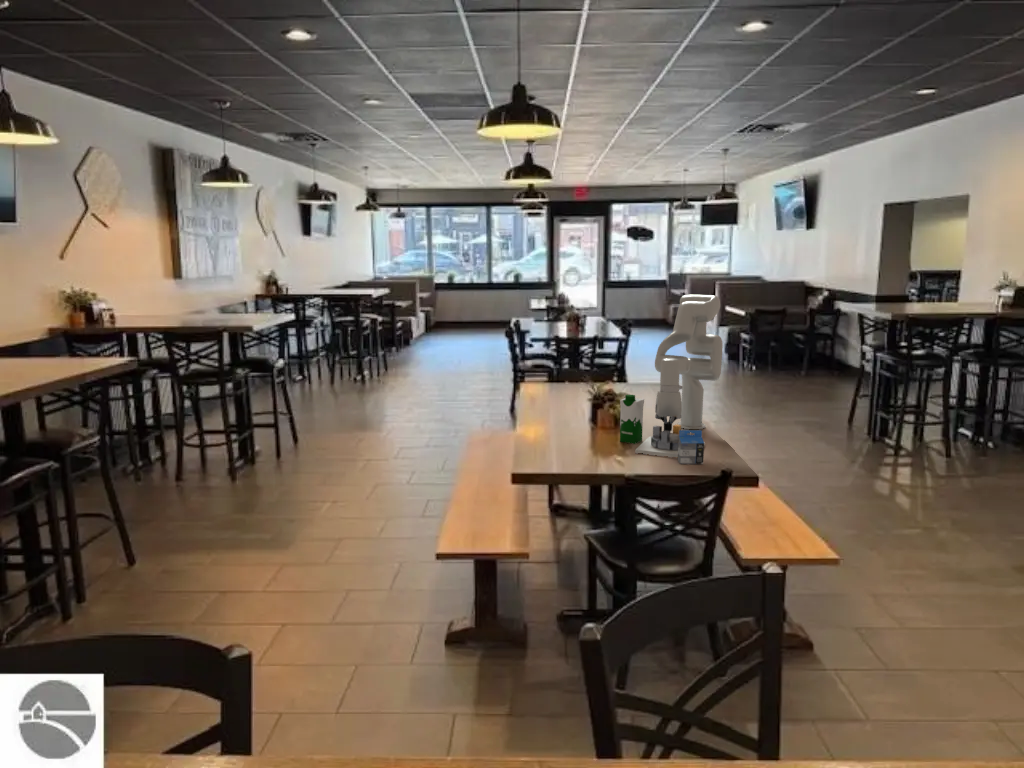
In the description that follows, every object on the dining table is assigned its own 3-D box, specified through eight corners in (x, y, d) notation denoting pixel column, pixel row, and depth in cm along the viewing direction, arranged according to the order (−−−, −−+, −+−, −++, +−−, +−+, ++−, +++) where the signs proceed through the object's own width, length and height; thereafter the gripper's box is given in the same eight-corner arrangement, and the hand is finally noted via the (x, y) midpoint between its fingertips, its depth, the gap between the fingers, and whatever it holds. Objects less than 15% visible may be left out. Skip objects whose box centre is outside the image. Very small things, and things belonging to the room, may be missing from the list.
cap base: (649, 439, 311) (650, 425, 310) (704, 445, 302) (705, 431, 301) (635, 453, 290) (635, 438, 289) (693, 460, 281) (694, 444, 280)
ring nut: (695, 443, 298) (696, 427, 296) (681, 452, 285) (682, 434, 284) (660, 438, 306) (661, 422, 305) (645, 446, 294) (646, 429, 292)
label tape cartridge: (679, 464, 275) (681, 432, 273) (677, 461, 279) (678, 430, 277) (703, 464, 275) (705, 432, 273) (700, 461, 279) (702, 430, 277)
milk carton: (616, 441, 308) (618, 395, 304) (626, 437, 315) (627, 391, 311) (636, 445, 303) (637, 397, 299) (645, 440, 310) (646, 394, 306)
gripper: (685, 386, 301) (683, 430, 305) (649, 387, 301) (647, 430, 304) (690, 390, 294) (688, 434, 297) (653, 390, 294) (651, 434, 297)
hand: (667, 432), depth 301 cm, fingers closed
